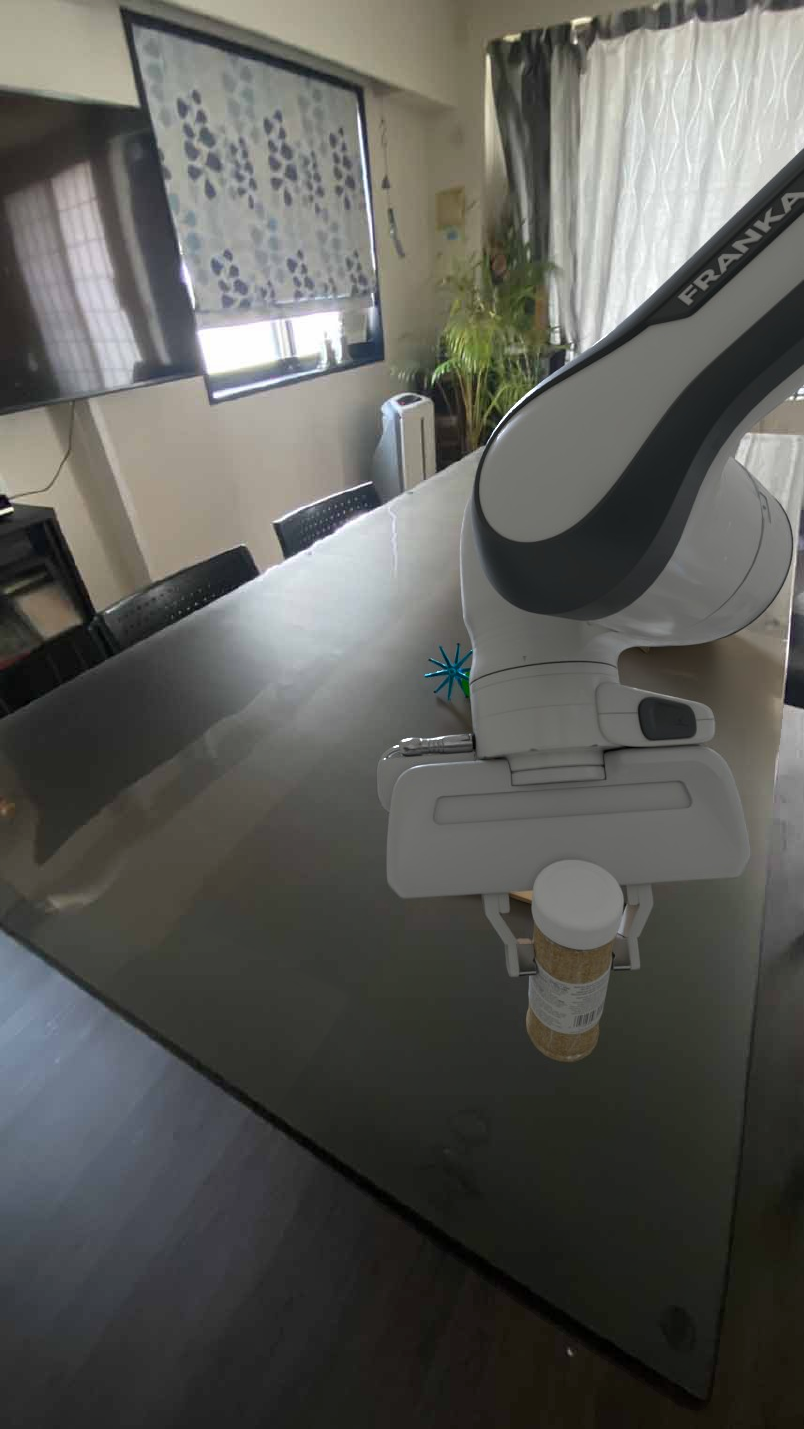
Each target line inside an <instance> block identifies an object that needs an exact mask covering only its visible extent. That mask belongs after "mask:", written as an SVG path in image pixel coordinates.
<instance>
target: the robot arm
mask: <svg viewBox="0 0 804 1429" xmlns="http://www.w3.org/2000/svg"><path fill="white" fill-rule="evenodd" d="M803 387H804V147H803V148H802V149H801V150H800V151H799V152H798V153H796V155H795V156H794V157H792V159H790V161H789V162H787V163H786V164H785V165H784V166H783V167H782V168H781V169H780V170H779V171H778V172H777V173H776V174H775V175H774V176H772V178H771V179H770V180H769V181H768V182H767V183H766V184H765V185H763V186H762V188H760V189H759V190H758V191H757V192H756V193H755V194H754V196H752V197H751V198H750V199H749V200H748V201H746V203H745V204H743V206H742V207H741V208H740V209H739V210H738V211H737V212H736V213H735V214H733V216H732V217H731V218H730V219H729V220H728V221H727V222H726V223H724V224H723V226H721V227H720V228H719V230H717V231H716V232H715V233H714V234H713V235H712V236H711V237H710V238H709V239H707V241H706V242H705V243H704V244H703V245H702V246H701V247H700V248H699V249H698V250H696V252H694V254H693V255H691V256H690V257H689V258H688V259H687V260H686V262H684V263H683V264H682V265H681V266H680V267H679V268H678V269H677V270H676V271H674V273H673V274H671V276H670V277H669V278H668V279H667V280H666V281H665V282H664V283H662V284H661V285H660V286H659V287H658V288H657V290H655V291H654V292H652V294H651V295H649V297H647V299H646V300H644V302H642V304H640V305H639V306H638V307H637V308H636V309H635V310H634V311H632V313H630V314H629V315H628V316H627V317H626V318H625V319H624V320H622V321H621V322H620V323H619V324H618V325H617V326H616V327H614V328H612V330H610V331H609V332H608V333H607V334H606V335H604V336H603V337H602V338H600V339H599V340H598V341H596V342H595V343H594V344H593V345H591V346H590V347H588V348H587V349H585V350H584V351H583V352H582V353H580V354H579V355H577V356H575V357H574V358H572V359H571V360H570V361H568V362H567V363H566V364H564V365H563V366H561V367H560V368H558V369H557V370H556V371H554V372H552V373H551V374H550V375H549V376H547V377H546V378H545V379H543V380H542V381H541V382H539V383H538V384H537V385H536V386H535V387H533V388H532V389H531V390H530V391H528V392H527V393H526V394H524V396H522V397H521V398H520V399H519V400H518V401H517V402H516V403H515V404H514V405H513V406H512V407H511V408H510V409H509V410H508V412H507V413H506V414H505V415H504V416H503V417H502V419H501V420H500V422H499V423H498V425H497V426H496V427H495V429H494V430H493V432H492V433H491V435H490V437H489V439H488V440H487V442H486V444H485V445H484V448H483V451H482V452H481V455H480V458H479V460H478V463H477V466H476V469H475V474H474V479H473V482H472V489H471V492H470V494H469V496H468V499H467V502H466V505H465V508H464V513H463V518H462V523H461V524H462V525H461V530H460V542H459V575H460V576H459V577H460V578H459V580H460V591H461V592H460V594H461V606H462V607H461V608H462V616H463V622H464V626H465V628H466V631H467V633H468V636H469V639H470V643H471V648H472V649H471V650H473V654H472V659H471V660H472V661H471V666H470V667H471V671H470V676H469V687H470V697H469V699H470V707H471V708H470V709H471V710H470V711H471V721H472V733H462V734H449V735H443V736H437V737H430V738H421V737H410V738H404V739H401V740H399V742H398V745H395V746H393V747H390V748H389V749H388V750H386V751H385V752H384V753H383V754H382V755H381V756H380V757H379V758H380V759H379V760H378V762H377V765H376V769H375V776H376V777H375V778H376V794H377V799H378V801H379V804H380V805H381V807H382V808H383V810H384V811H385V812H387V813H388V822H387V832H386V833H387V834H386V858H385V860H386V867H385V868H386V882H387V885H388V886H389V888H390V889H391V890H392V891H393V892H394V894H396V896H398V898H400V899H405V900H406V899H409V900H410V899H422V898H424V899H425V898H440V897H455V896H473V895H481V896H480V897H481V906H482V911H483V913H484V914H485V916H486V917H487V919H488V921H489V923H490V924H491V925H492V927H493V928H494V930H495V931H496V933H497V935H498V936H499V938H500V939H501V940H502V943H503V944H504V953H505V954H504V955H505V965H506V971H507V975H508V976H509V978H521V977H529V976H535V975H536V964H535V963H534V961H533V959H534V957H535V951H534V944H533V942H532V940H531V939H530V938H529V937H527V938H516V937H515V936H516V935H514V933H513V931H511V929H510V927H509V926H508V924H507V923H506V921H505V920H504V918H503V917H502V915H501V914H509V913H510V911H511V906H510V897H509V892H520V891H533V886H534V882H535V880H536V878H537V876H538V875H539V873H540V872H541V871H542V870H543V869H544V868H546V867H547V866H549V865H550V864H552V863H555V862H558V861H562V860H582V861H586V862H590V863H593V864H595V865H598V866H600V867H601V868H603V869H604V870H606V871H607V872H608V873H610V874H611V875H612V876H613V877H614V878H615V880H616V881H617V882H618V884H619V886H620V888H621V890H622V893H623V899H624V904H626V906H625V908H624V909H623V913H622V919H621V924H620V928H619V931H618V933H617V934H616V936H615V938H614V943H613V950H612V964H611V969H610V971H612V972H623V971H639V970H640V969H641V959H640V958H641V957H640V950H639V942H638V941H639V940H638V938H639V937H640V936H641V934H642V931H643V929H644V927H645V925H646V923H647V921H648V918H649V916H650V914H651V912H652V910H653V907H654V905H655V902H654V895H653V887H652V884H661V883H676V882H693V881H706V880H707V881H708V880H724V879H725V880H726V879H737V878H739V877H741V875H742V874H743V873H744V871H745V870H746V868H747V866H748V864H749V862H750V860H751V857H752V851H751V850H752V849H751V841H750V836H749V830H748V826H747V819H746V815H745V811H744V808H743V804H742V799H741V796H740V792H739V789H738V786H737V782H736V780H735V777H734V775H733V772H732V769H731V768H730V766H729V764H728V763H727V761H726V759H724V758H723V757H722V755H721V754H720V753H718V752H717V751H715V750H714V749H712V748H711V747H708V746H704V745H701V744H704V743H706V742H709V741H710V740H711V741H712V739H713V738H714V737H715V734H716V720H715V716H714V713H713V710H712V709H711V708H710V707H709V706H707V705H706V704H704V703H701V702H698V701H693V700H688V699H685V698H679V697H674V696H670V695H665V694H663V693H658V692H657V693H656V692H652V691H648V690H644V689H640V688H636V687H633V686H630V685H626V684H621V683H620V682H621V681H620V676H619V666H618V660H619V656H620V654H621V653H622V652H624V651H625V650H627V649H630V648H639V647H650V648H657V647H673V646H691V645H699V644H703V643H704V644H705V643H711V642H715V641H719V640H722V639H725V638H727V637H731V636H732V635H735V634H737V633H739V632H740V631H743V630H744V629H745V628H747V627H749V626H750V625H751V624H752V623H754V622H755V621H757V620H758V619H759V618H760V617H761V616H762V615H763V614H764V613H765V612H766V611H767V610H768V609H769V607H771V605H772V604H773V603H774V601H775V600H776V598H777V597H778V596H779V594H780V592H781V590H782V589H783V586H785V583H786V580H787V579H788V575H789V573H790V570H791V565H792V562H793V558H794V557H793V556H794V534H793V528H792V525H791V524H792V523H791V522H790V518H789V517H788V514H787V511H786V510H785V508H784V507H783V505H782V503H781V502H780V501H779V500H778V499H777V497H775V496H774V495H773V494H772V493H771V492H770V490H768V489H767V488H766V486H764V485H763V483H762V482H761V481H760V480H759V479H757V477H756V476H755V475H754V474H752V472H751V471H750V470H748V468H747V467H745V465H743V464H742V463H741V462H739V461H738V460H737V459H736V457H733V456H731V455H732V453H733V452H734V450H735V449H736V447H737V446H738V444H739V443H740V441H741V440H743V438H744V437H745V436H746V435H747V433H749V431H751V429H752V428H753V427H755V426H756V425H757V424H759V422H760V421H762V420H763V419H764V418H766V417H767V416H768V415H769V414H771V413H772V412H773V411H775V409H777V408H778V407H779V406H780V405H782V404H783V403H784V402H785V401H786V400H787V399H789V398H790V397H791V396H792V395H794V394H795V393H796V392H798V391H799V390H801V388H803ZM398 753H399V755H400V756H399V757H393V755H395V754H398Z"/></svg>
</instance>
